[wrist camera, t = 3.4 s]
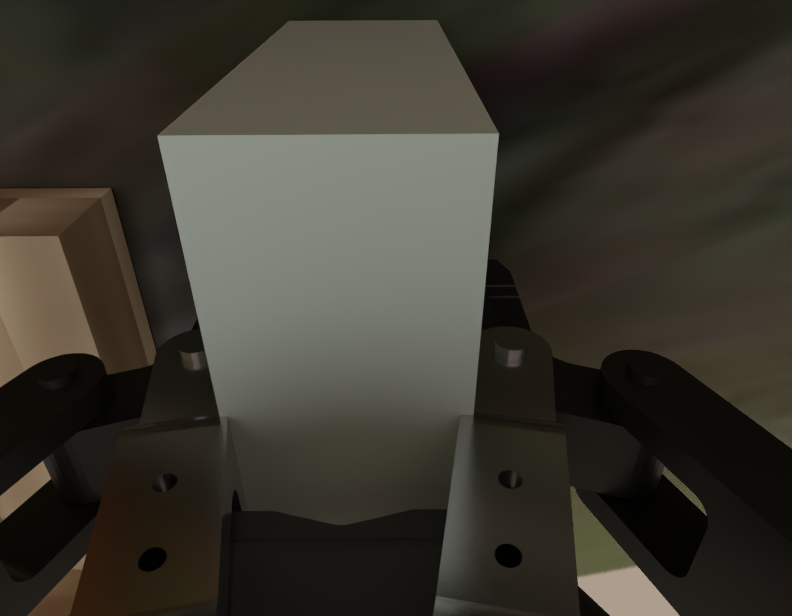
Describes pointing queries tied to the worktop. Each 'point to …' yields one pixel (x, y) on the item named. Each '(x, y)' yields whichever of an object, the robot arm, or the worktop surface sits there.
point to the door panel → (339, 261)
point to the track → (65, 307)
